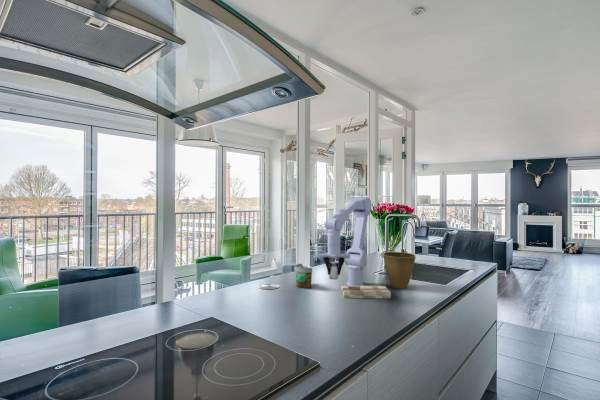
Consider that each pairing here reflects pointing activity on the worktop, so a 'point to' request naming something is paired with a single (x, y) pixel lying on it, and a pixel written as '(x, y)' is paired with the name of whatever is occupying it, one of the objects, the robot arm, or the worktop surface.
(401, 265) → the plant pot
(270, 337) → the worktop surface
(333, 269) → the silver metal cylinder
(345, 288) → the board
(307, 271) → the food container
